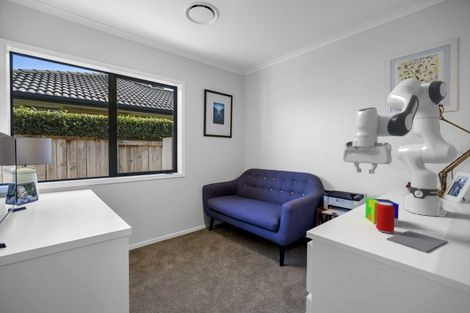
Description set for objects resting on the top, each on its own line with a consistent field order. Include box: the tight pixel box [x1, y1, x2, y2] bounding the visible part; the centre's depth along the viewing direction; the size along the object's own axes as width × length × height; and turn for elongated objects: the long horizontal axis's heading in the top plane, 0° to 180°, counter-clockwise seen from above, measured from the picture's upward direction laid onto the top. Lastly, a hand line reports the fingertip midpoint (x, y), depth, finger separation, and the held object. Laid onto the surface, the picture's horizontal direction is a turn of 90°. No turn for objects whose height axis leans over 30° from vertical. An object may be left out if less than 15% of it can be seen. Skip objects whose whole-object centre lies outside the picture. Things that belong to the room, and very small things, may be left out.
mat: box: [386, 230, 448, 254], centre depth 81 cm, size 18×12×1 cm, turn 119°
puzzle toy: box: [365, 198, 400, 226], centre depth 104 cm, size 10×10×10 cm
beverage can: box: [375, 202, 395, 234], centre depth 90 cm, size 6×6×12 cm
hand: (365, 173), depth 98 cm, fingers open, 4 cm apart
